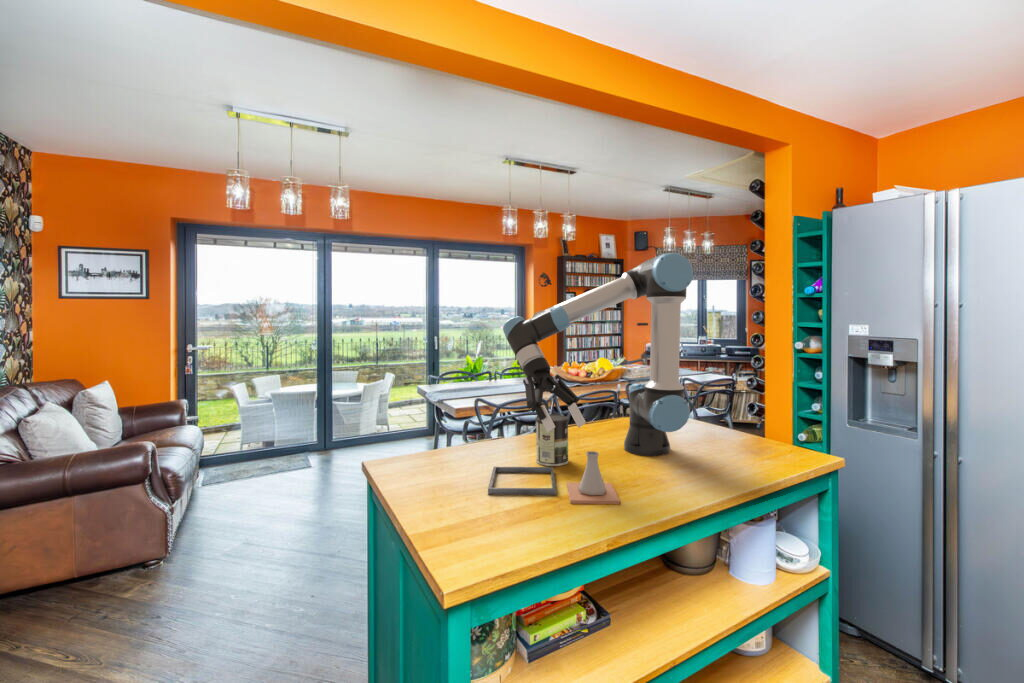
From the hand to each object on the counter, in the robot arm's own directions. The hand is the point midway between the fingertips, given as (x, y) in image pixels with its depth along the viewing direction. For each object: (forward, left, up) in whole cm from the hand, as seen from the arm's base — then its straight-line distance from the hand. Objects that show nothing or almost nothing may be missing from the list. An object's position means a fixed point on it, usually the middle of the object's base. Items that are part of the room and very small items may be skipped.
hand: (567, 427), depth 124 cm
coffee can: (+3, -20, -16) cm, 26 cm away
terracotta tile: (-6, +7, -16) cm, 18 cm away
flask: (-6, +7, -15) cm, 18 cm away
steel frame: (+12, -1, -16) cm, 20 cm away
